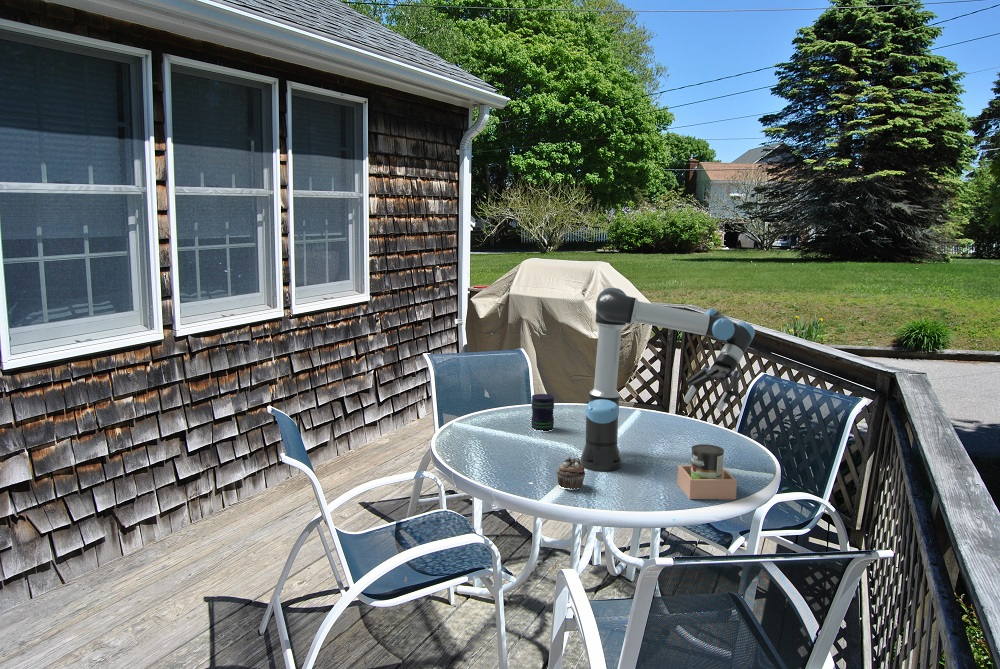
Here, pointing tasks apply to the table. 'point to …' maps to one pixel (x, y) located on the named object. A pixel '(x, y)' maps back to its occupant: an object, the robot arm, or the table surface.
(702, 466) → the coffee can
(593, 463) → the robot arm
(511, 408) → the table surface
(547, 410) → the storage jar
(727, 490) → the planter box
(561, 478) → the cupcake
